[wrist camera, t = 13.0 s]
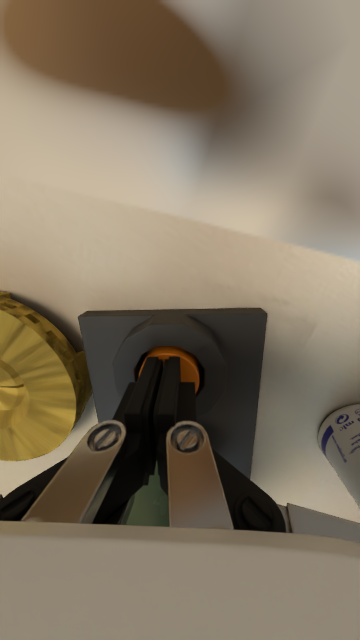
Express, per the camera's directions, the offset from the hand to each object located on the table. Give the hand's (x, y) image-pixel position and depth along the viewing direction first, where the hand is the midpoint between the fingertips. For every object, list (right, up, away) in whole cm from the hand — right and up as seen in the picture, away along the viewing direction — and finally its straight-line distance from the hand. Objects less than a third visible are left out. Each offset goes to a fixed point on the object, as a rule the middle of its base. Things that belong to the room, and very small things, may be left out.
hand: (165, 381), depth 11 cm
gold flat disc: (-12, 0, +5) cm, 12 cm away
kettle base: (0, -4, +5) cm, 6 cm away
